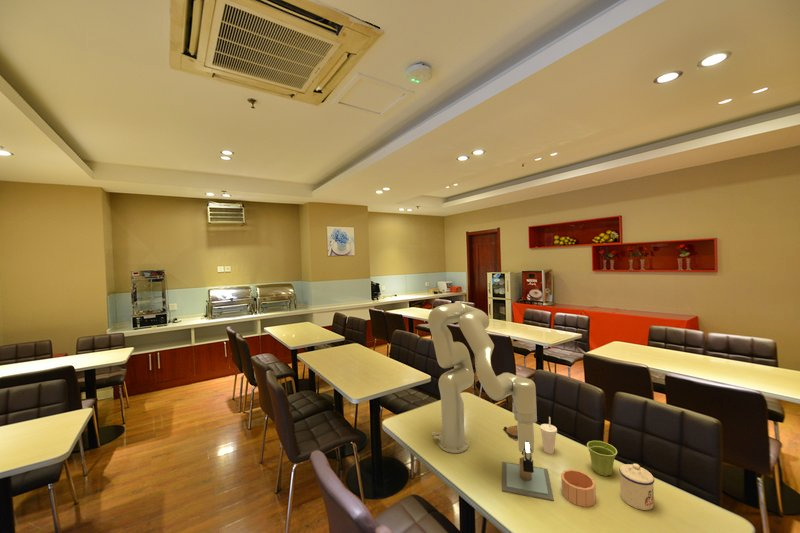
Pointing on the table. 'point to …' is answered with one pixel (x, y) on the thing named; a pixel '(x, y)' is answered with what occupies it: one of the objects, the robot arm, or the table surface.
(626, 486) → the teacup with lid
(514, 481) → the cover sheet
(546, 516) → the table surface
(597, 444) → the plant pot
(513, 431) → the bread roll
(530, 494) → the mat
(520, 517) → the table surface
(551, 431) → the smoothie
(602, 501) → the table surface
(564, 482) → the bowl
